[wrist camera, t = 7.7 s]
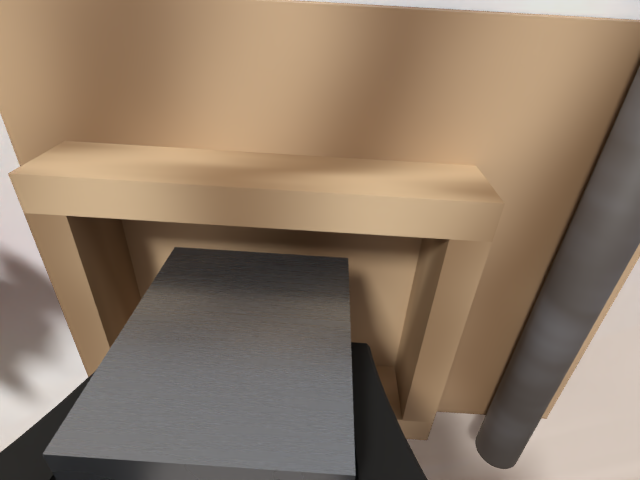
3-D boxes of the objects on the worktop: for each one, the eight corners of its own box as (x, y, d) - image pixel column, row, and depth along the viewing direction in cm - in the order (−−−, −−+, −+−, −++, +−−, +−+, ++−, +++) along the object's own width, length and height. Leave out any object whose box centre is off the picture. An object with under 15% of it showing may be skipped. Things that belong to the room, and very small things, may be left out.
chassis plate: (750, -25, 9) (934, -28, 6) (526, 407, 18) (562, 488, 15) (-26, -68, 9) (-185, -91, 7) (122, 381, 18) (81, 456, 15)
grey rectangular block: (348, 257, 10) (355, 475, 6) (336, 374, 13) (334, 596, 8) (174, 246, 10) (42, 454, 6) (194, 365, 13) (112, 580, 8)
